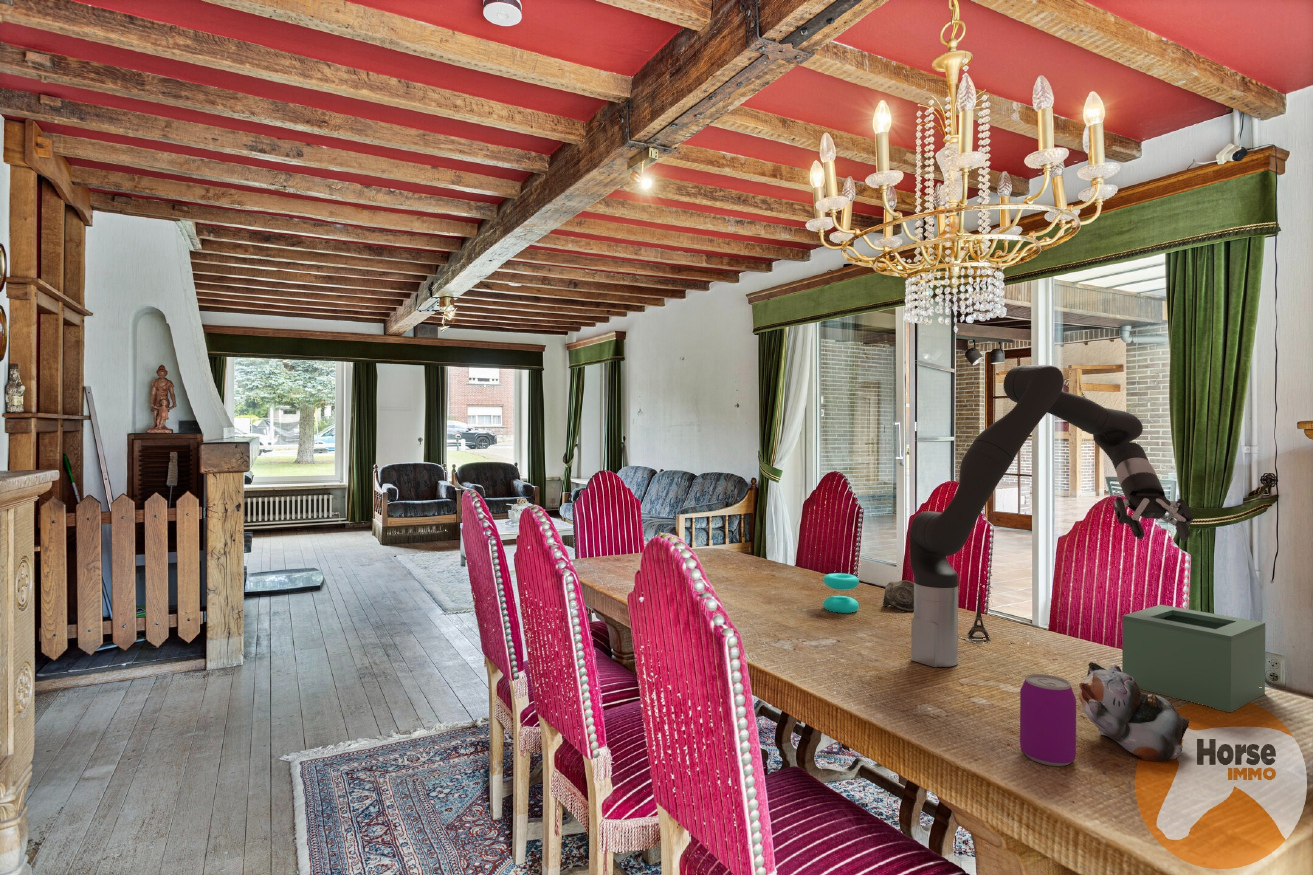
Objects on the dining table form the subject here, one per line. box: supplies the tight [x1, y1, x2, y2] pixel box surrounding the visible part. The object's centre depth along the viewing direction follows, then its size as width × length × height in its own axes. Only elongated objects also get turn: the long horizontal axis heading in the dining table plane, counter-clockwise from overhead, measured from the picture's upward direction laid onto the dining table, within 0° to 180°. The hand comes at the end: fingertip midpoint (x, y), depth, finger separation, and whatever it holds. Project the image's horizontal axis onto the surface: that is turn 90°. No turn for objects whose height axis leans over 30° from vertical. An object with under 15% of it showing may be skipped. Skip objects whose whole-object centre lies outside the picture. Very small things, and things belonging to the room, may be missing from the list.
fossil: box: [882, 580, 914, 613], centre depth 209 cm, size 11×9×10 cm
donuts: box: [822, 572, 860, 614], centre depth 206 cm, size 10×10×10 cm
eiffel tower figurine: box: [958, 589, 1015, 645], centre depth 179 cm, size 15×10×13 cm
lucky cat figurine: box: [1078, 661, 1190, 763], centre depth 117 cm, size 15×12×14 cm
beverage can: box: [1019, 673, 1077, 767], centre depth 111 cm, size 8×8×12 cm
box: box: [1121, 604, 1266, 713], centre depth 143 cm, size 18×18×14 cm
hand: (1163, 538), depth 154 cm, fingers open, 8 cm apart
